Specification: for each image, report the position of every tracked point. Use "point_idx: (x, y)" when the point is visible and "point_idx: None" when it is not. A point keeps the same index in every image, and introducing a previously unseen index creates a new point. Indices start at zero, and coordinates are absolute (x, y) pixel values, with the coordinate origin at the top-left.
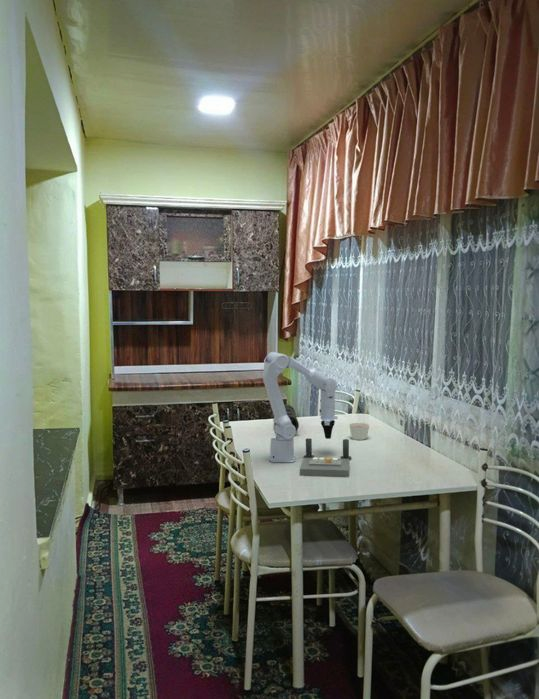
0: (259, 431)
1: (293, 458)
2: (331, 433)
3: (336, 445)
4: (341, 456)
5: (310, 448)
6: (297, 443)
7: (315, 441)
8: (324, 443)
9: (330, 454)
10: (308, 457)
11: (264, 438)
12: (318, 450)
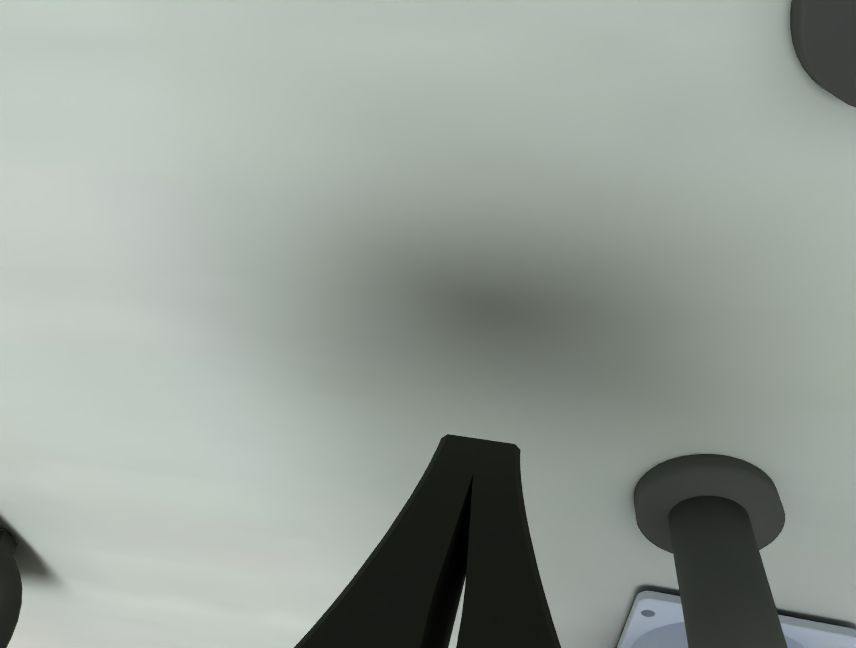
0: (15, 636)
1: None
2: (529, 550)
3: (68, 157)
4: (848, 90)
5: (777, 622)
6: (177, 514)
7: (37, 381)
8: (59, 303)
9: (546, 261)
10: (760, 529)
11: (145, 643)
12: (366, 384)
